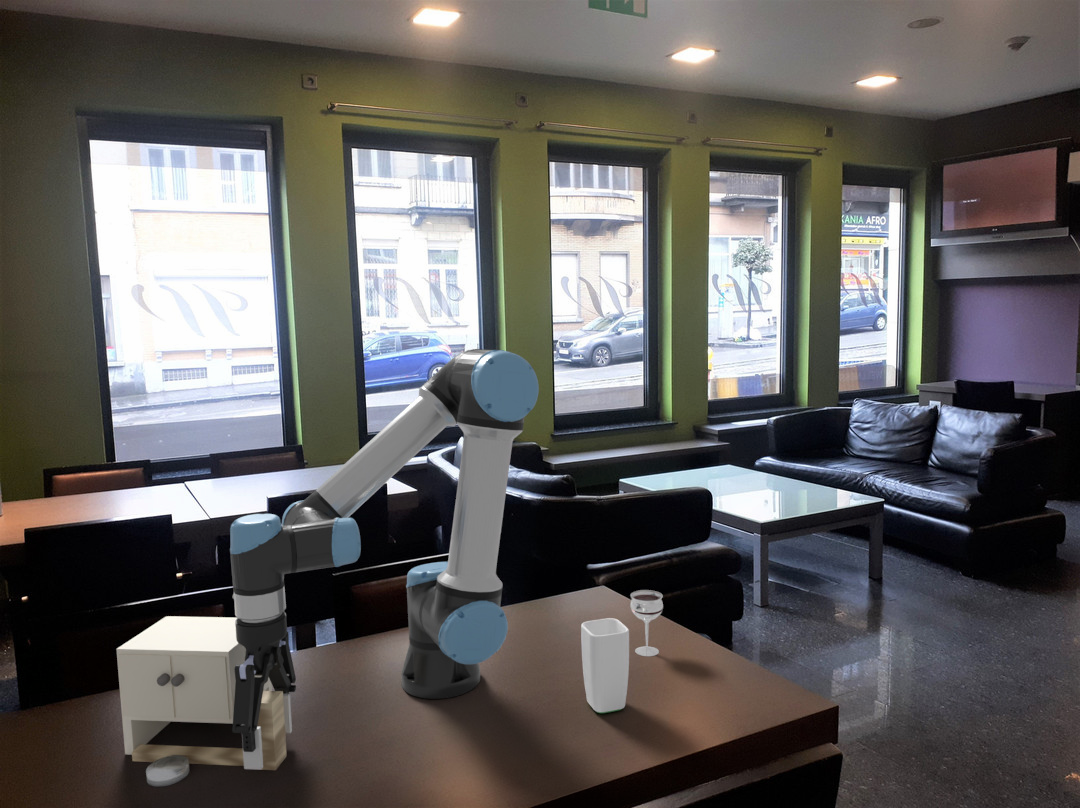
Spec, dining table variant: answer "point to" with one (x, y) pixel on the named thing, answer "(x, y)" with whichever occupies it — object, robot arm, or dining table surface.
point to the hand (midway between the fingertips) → (269, 749)
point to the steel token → (167, 770)
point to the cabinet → (178, 675)
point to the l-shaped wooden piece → (271, 748)
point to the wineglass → (646, 614)
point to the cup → (605, 663)
